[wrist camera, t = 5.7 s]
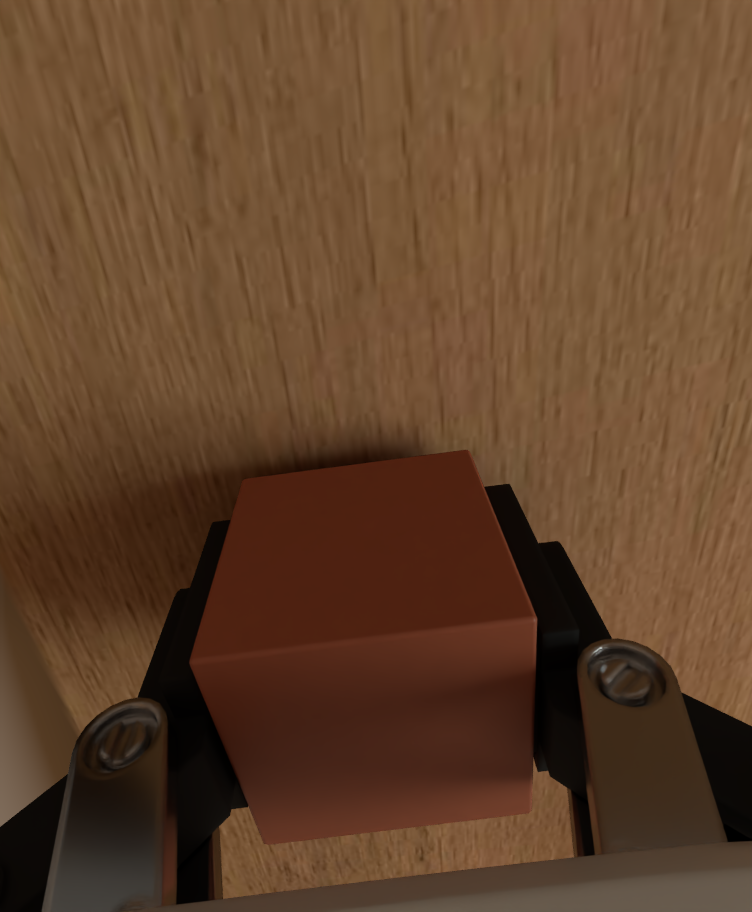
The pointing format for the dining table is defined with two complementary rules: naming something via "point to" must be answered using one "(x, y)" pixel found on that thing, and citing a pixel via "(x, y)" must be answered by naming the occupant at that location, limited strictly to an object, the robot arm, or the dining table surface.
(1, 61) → the dining table surface
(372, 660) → the block
